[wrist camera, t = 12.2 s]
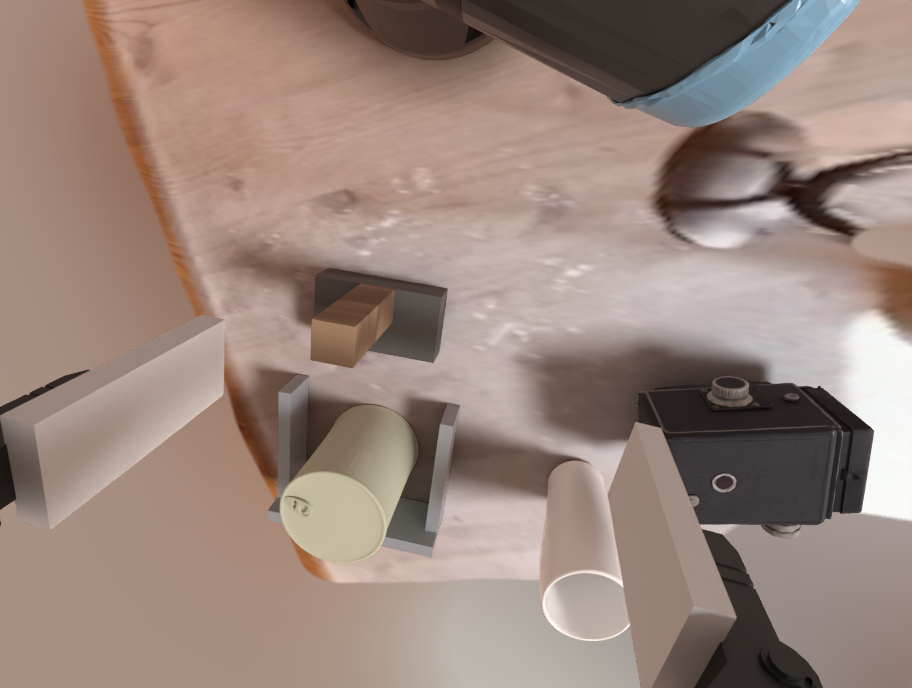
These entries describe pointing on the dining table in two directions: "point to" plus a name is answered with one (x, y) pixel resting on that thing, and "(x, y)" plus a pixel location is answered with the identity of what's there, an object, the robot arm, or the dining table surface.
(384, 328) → the scraper
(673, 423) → the camera
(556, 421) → the dining table surface
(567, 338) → the dining table surface
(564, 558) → the drinking glass
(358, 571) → the dining table surface
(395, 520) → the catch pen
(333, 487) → the can
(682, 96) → the robot arm
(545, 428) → the dining table surface
